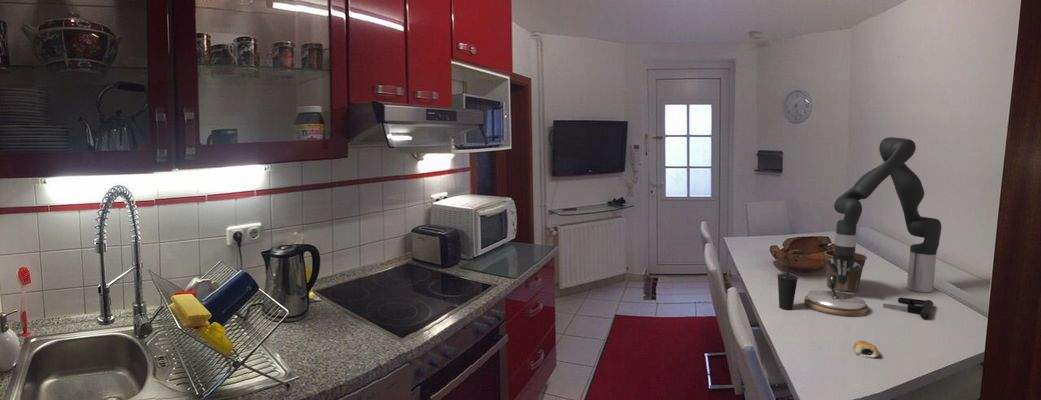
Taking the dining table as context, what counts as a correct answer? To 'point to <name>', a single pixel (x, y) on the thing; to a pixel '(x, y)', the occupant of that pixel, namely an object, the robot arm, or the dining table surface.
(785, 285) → the drinking cup
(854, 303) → the dial
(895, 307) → the door handle
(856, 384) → the dining table surface
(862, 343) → the pastry
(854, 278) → the plant pot
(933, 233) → the robot arm
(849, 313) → the dial base
